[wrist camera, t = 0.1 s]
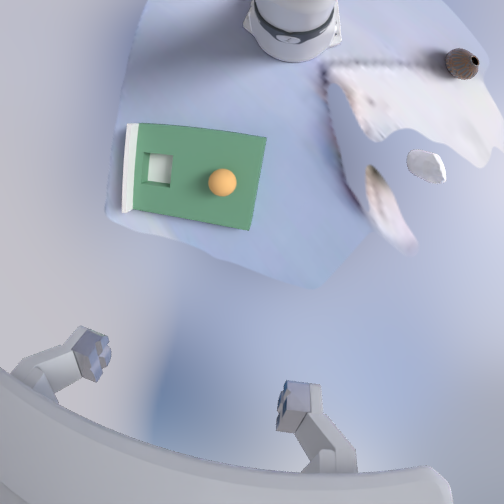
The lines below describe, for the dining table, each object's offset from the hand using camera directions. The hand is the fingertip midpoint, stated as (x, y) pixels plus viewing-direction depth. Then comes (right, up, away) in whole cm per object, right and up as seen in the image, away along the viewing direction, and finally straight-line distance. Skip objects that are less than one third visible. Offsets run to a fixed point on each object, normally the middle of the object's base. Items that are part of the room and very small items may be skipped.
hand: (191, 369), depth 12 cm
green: (-9, +21, +44) cm, 50 cm away
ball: (-3, +17, +39) cm, 42 cm away
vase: (+45, +45, +28) cm, 69 cm away
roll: (+36, +23, +38) cm, 58 cm away
